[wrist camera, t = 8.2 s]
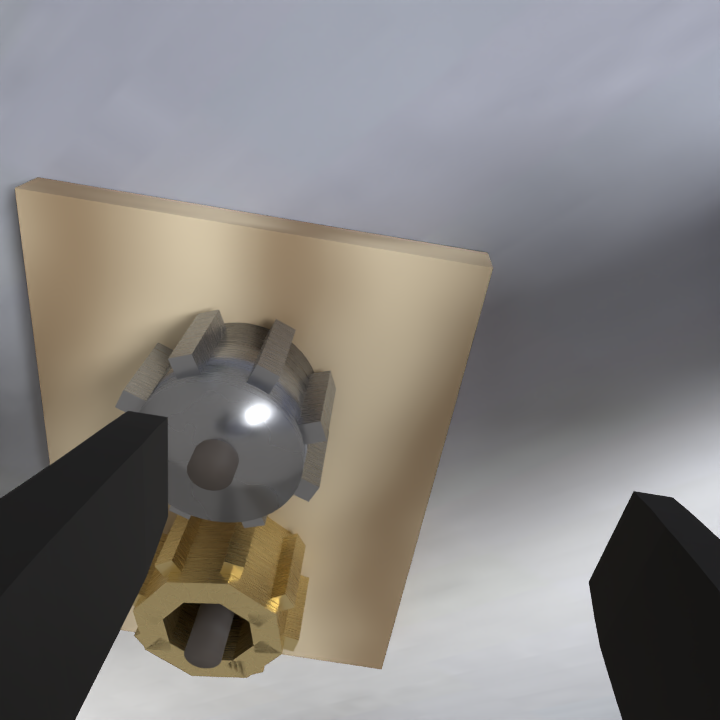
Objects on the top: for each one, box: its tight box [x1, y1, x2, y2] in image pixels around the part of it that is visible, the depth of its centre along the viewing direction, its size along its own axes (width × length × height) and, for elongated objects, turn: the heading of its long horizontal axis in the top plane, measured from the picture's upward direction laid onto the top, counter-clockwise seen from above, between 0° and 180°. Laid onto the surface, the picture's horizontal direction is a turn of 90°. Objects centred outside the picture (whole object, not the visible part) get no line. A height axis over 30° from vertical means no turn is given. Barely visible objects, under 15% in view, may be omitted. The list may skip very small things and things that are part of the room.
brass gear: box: [132, 514, 309, 678], centre depth 21 cm, size 6×6×3 cm
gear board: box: [15, 177, 493, 669], centre depth 20 cm, size 13×18×5 cm
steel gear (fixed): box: [115, 310, 336, 528], centre depth 18 cm, size 6×6×3 cm
